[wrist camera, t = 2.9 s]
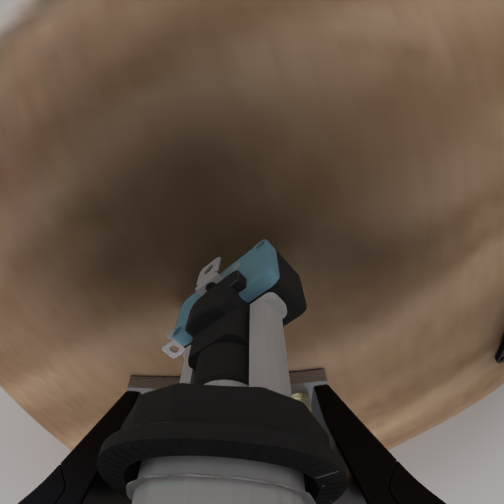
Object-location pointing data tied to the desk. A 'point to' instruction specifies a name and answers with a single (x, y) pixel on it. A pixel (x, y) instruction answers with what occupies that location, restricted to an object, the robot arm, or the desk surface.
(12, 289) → the desk surface
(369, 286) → the desk surface
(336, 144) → the desk surface
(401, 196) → the desk surface
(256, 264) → the push button
